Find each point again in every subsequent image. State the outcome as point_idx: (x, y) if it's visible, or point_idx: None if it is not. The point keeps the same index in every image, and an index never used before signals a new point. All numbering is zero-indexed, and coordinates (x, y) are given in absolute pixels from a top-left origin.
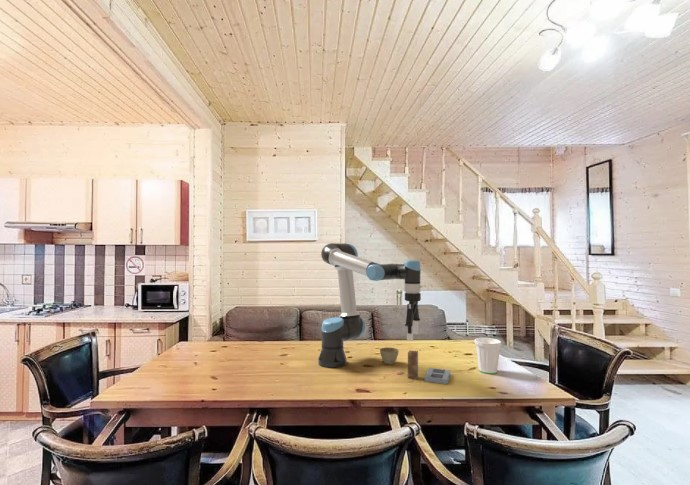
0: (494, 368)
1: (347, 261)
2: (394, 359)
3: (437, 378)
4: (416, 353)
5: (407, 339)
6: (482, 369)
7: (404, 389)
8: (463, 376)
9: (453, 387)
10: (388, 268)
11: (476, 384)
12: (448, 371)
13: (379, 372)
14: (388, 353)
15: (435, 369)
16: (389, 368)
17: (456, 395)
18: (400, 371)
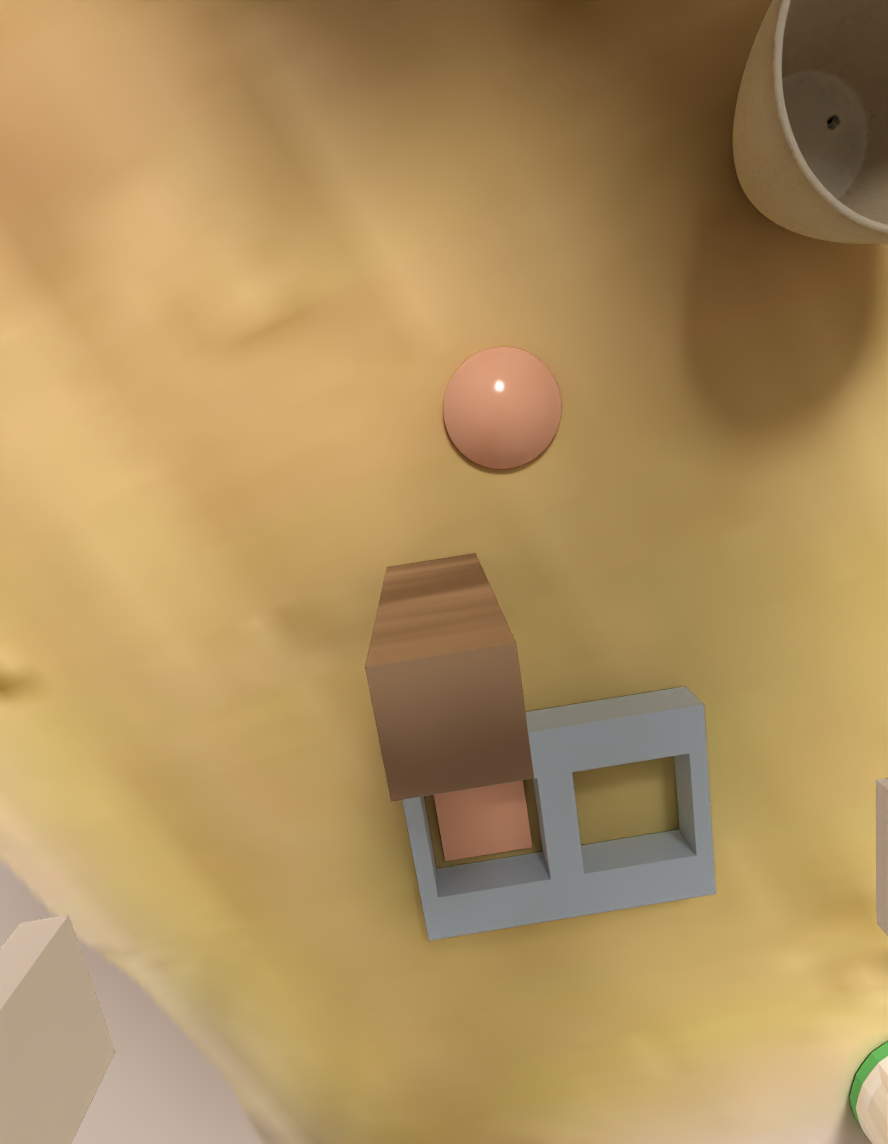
0: None
1: None
2: (790, 229)
3: (415, 864)
4: (406, 796)
5: (9, 955)
6: (884, 1088)
7: (78, 650)
8: (696, 964)
9: (383, 965)
10: None
11: (549, 1079)
12: (671, 890)
13: (389, 197)
14: (766, 117)
15: (688, 765)
16: (592, 249)
17: (227, 1022)
18: (537, 421)
